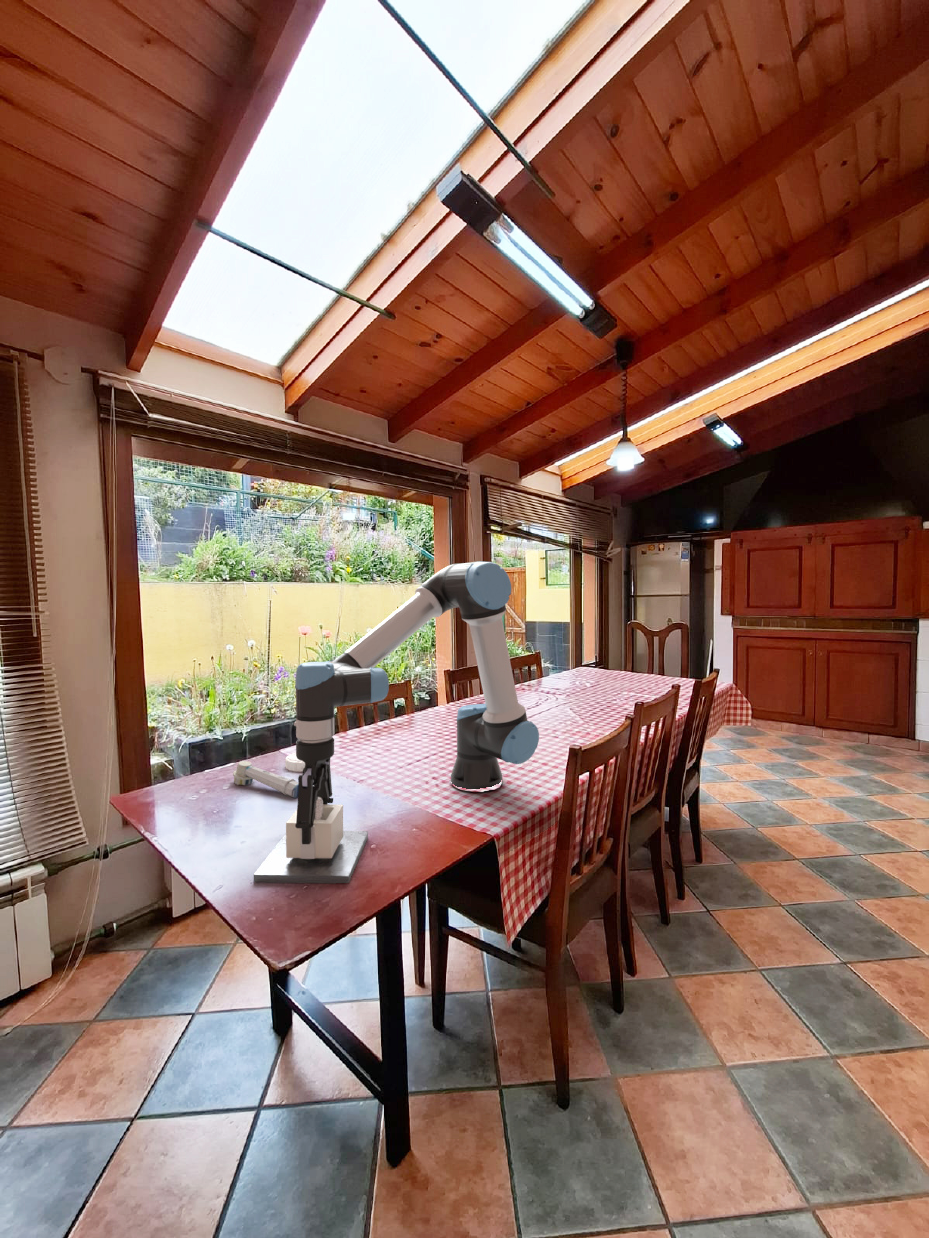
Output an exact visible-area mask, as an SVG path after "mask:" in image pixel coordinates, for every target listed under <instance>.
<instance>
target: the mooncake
mask: <svg viewBox="0 0 929 1238" xmlns="http://www.w3.org/2000/svg"><path fill="white" fill-rule="evenodd" d="M284 763H285V764H284V767H285V769H286V770H288V771H290V772H297V773H299V772H300V773H303V769H304V768H305V762H303V761H302V760H299V759H297V757H296V751H295V752H293V753H290V754H288V755H287V756H286V757H285V761H284Z"/></svg>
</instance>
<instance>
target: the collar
mask: <svg viewBox="0 0 929 1238" xmlns="http://www.w3.org/2000/svg"><path fill="white" fill-rule="evenodd" d="M328 804H329V803H328ZM328 804H323V820H314V825H315V858H332V857H333V855H334V853H335V851H336V849H337V847H338V845H339V843H340V842H341V840H342V838H343V831H344V805H343V804H329V805H328ZM296 819H297V809H296V810H295V811H294V813H293V814H292V815H291V816H290V817H289V819H288V820H287V821H286V822H285V834H286V858H301V846H300V828H296V827H295V824H296Z"/></svg>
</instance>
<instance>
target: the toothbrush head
mask: <svg viewBox="0 0 929 1238" xmlns="http://www.w3.org/2000/svg"><path fill="white" fill-rule="evenodd" d="M232 776H233V782H234V784H235V785H236V786H240V785H241V786H242V785H243V786H249V785H251V784H252V783H254V780H255V781H258V782H259V783H261V784H264V785H265V786H268V787H270V788H272V789H274V790H276V791H278V792H280V793H282V794H283V795H284V796H286V797H291V798H294V799H298V791H299V784H298V781H296V780H295V779H294V778H288V777H285V776H283V775H279V774H277V773H273V772H272V771H271V772H270V771H268V770H265V769H263V768H262V769H261V768H259V767H256V766H254V765H253V764H252V762H251V761H246V760H243V761H239V762H238V763H237V766H236V769H235V770H234V771H233V772H232Z"/></svg>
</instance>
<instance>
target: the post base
mask: <svg viewBox="0 0 929 1238" xmlns="http://www.w3.org/2000/svg"><path fill="white" fill-rule="evenodd" d="M314 820H323V800H322V798H321V797H319V796H317V800H316V808H315V816H314ZM368 838H369V831H365V830H363V831H361V830H359V831H357V830H356V831H355V830H343V838H342V840H341V842H340V843H339V845H338V847H337V849H336V851H335V853H334V855H333V857H332V858H314V859H301V858H286V833H285V834H284V835H283V836H282V837H281V839H280V840H279V841H278V843H277V844H276V846H274V848H273V849H272V850H271V852H270V853H269V854H268V856H267V857H266V858H265V859H264V861H263V862H262V863H261V865H260V866H259V867H258V868H257V870H255V872H254V873H253V883H264V884H265V883H270V884H272V883H273V884H274V883H276V884H285V883H286V884H336V883H350V881H351V879H352V877H353V874H354V871H355V870H356V867H357V864H358V863H359V860H360V857H361V855H362V853H363V851H364V848H365V845H366V843H367V841H368ZM354 869H355V870H354ZM351 876H352V877H351Z"/></svg>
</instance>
